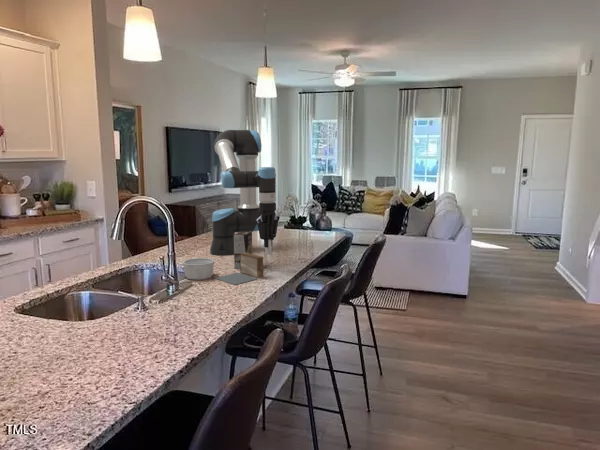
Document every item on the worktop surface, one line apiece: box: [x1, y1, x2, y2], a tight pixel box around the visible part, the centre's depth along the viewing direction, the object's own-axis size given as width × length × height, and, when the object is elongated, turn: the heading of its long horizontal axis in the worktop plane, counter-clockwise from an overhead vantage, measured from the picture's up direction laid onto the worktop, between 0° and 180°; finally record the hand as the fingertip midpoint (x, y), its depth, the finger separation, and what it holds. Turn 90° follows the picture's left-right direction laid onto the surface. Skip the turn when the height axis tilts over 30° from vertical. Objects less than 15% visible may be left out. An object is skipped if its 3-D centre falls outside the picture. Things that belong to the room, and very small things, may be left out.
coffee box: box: [233, 232, 253, 270], centre depth 210 cm, size 9×6×16 cm
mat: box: [214, 272, 259, 286], centre depth 190 cm, size 12×14×1 cm
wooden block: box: [239, 253, 264, 279], centre depth 196 cm, size 3×12×9 cm, turn 46°
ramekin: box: [182, 257, 215, 281], centre depth 194 cm, size 13×13×7 cm
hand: (268, 254), depth 202 cm, fingers closed
